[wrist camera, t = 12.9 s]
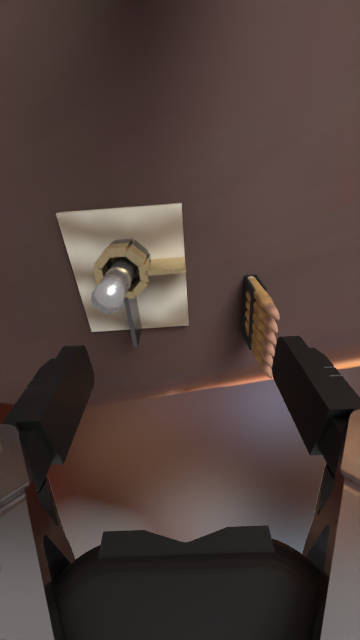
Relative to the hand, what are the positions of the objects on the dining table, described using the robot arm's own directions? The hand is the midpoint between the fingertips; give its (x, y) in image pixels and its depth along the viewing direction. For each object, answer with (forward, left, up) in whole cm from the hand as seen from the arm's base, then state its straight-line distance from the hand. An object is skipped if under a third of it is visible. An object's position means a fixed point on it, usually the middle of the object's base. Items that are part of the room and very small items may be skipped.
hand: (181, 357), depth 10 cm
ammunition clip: (+12, +11, -27) cm, 32 cm away
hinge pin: (+3, -7, -26) cm, 27 cm away
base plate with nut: (+5, -7, -27) cm, 28 cm away
